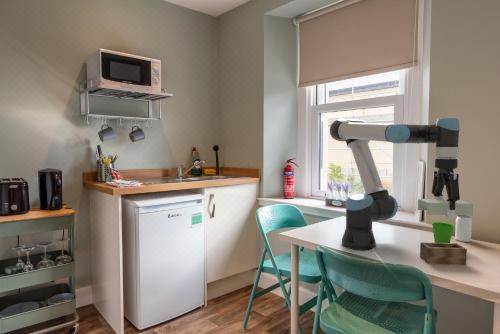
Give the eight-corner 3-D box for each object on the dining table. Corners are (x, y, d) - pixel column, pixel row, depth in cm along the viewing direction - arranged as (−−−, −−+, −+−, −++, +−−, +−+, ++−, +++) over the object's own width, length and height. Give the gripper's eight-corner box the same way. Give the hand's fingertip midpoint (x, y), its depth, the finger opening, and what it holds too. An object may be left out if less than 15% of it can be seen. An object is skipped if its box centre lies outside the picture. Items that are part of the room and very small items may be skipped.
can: (473, 242, 147) (474, 218, 146) (458, 241, 149) (459, 217, 148) (467, 238, 154) (468, 215, 153) (452, 237, 155) (453, 214, 154)
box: (427, 265, 120) (428, 247, 119) (419, 258, 126) (420, 242, 126) (466, 266, 118) (466, 249, 117) (456, 260, 125) (456, 243, 124)
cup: (432, 243, 146) (433, 220, 146) (454, 247, 141) (455, 223, 140) (428, 248, 139) (429, 224, 139) (452, 252, 134) (453, 227, 133)
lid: (427, 214, 117) (428, 202, 117) (417, 209, 126) (418, 198, 126) (472, 215, 115) (473, 203, 115) (459, 210, 124) (459, 199, 124)
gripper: (473, 159, 108) (470, 222, 110) (442, 157, 130) (440, 209, 131) (451, 159, 109) (448, 221, 111) (423, 157, 131) (421, 209, 132)
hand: (443, 214), depth 121 cm, fingers closed on lid, 9 cm apart
